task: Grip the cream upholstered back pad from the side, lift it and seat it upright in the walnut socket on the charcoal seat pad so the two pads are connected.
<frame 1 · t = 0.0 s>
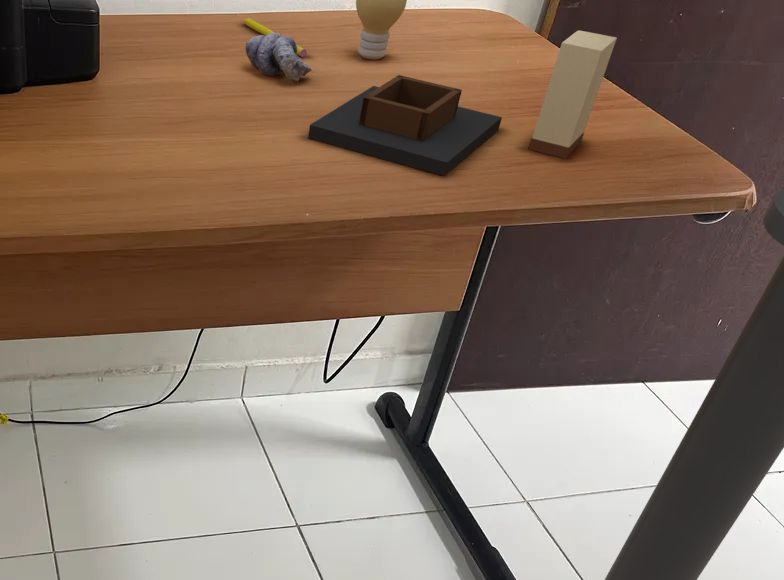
pencil: (271, 40, 126), on the table
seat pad: (404, 134, 101), on the table
light bulb: (370, 58, 121), on the table
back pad: (554, 145, 99), on the table
grey knotted piece: (273, 75, 115), on the table
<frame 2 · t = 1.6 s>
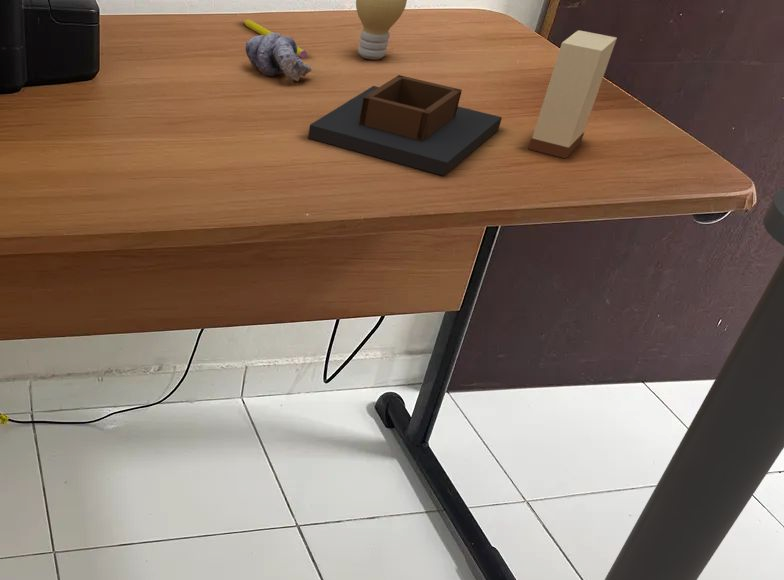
nothing on the table moved.
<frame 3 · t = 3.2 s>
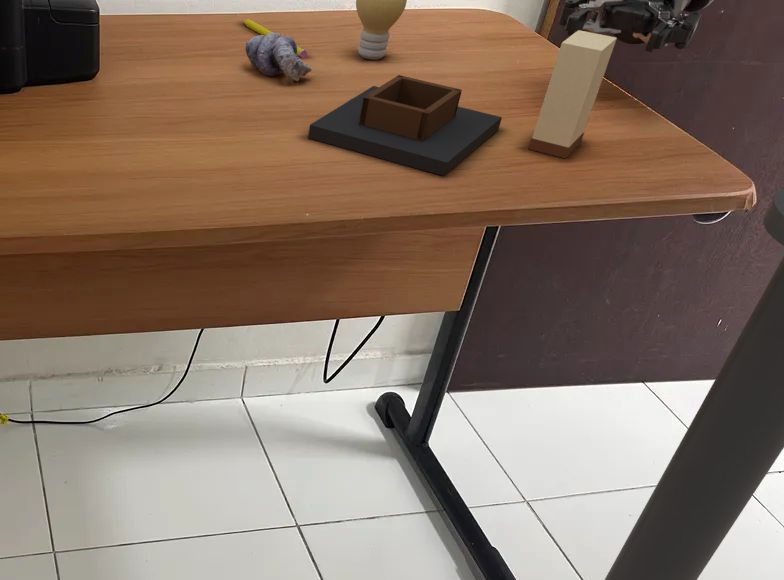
hand: (611, 34, 100), 9 cm above the table, tool horizontal, fingers open, 8 cm apart
nothing on the table moved.
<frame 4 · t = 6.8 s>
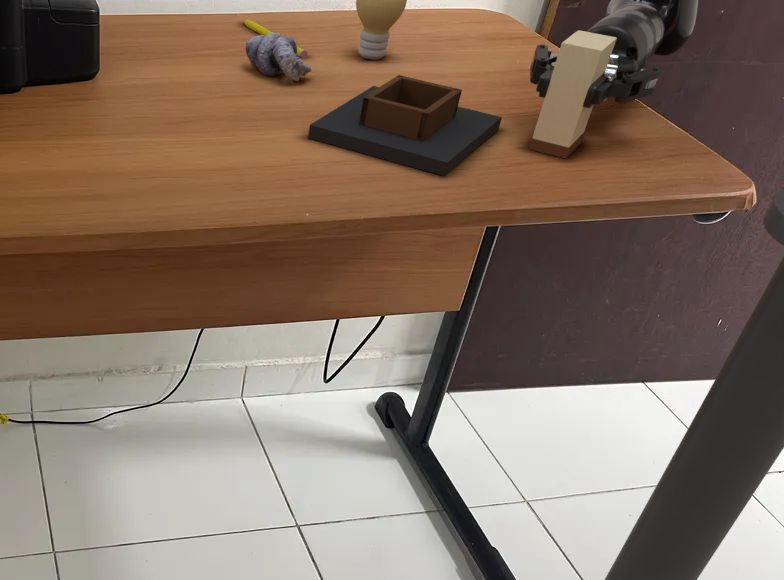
hand: (567, 92, 93), 6 cm above the table, tool horizontal, fingers closed on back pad, 4 cm apart
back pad: (554, 145, 99), on the table, touching gripper
everything else where it was.
when the fingers open (8 cm above the table, at t = 14.2 s): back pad stays where it is, resting on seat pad.
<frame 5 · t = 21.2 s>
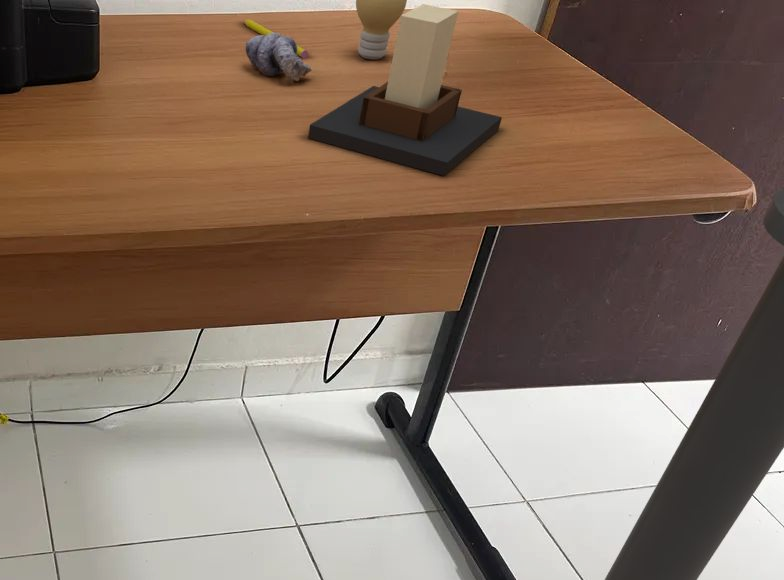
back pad: (406, 120, 100), point 1 cm above the table, touching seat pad
everything else where it was.
at the end: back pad 0.1 cm off-centre on the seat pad, point 1.5 cm above the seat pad's base; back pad tilted 0°; the gripper is holding nothing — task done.
